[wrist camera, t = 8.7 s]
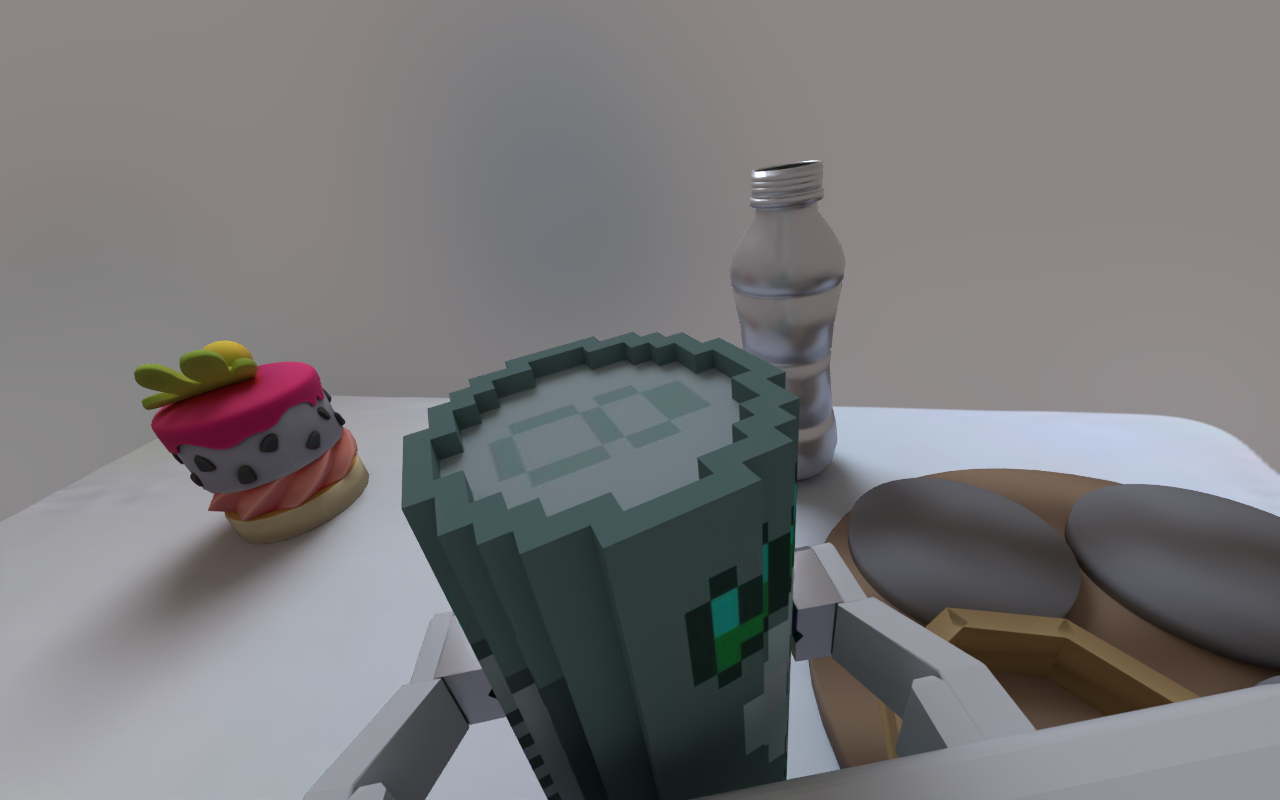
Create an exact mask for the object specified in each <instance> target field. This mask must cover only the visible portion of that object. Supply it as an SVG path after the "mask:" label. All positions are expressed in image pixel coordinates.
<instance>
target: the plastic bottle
mask: <svg viewBox="0 0 1280 800" xmlns="http://www.w3.org/2000/svg"><path fill="white" fill-rule="evenodd" d="M822 163H823V161H820V160H817V161H802V162H793V163H786V164H779V165H773V166H768V167H764V168H759V169H755V170H753V171H752V175H751V185H752V186H751V187H752V197H750V207H752V208H756V211H755V218H754V219H753V221H752V222H751V224H750V225H749V227H748V229H747V230H746V232H745V233H744V235H743V236H742V238H741V240H740V242H739V243H738V245H737V247H736V249H735V251H734V253H733V256H732V261H731V265H730V278H731V285H732V287H733V294H734V299H735V304H736V309H737V314H738V318H739V323H740V328H741V335H742V344H743V350H744V351H746V352H748V353H750V354H752V355H754V356H756V357H758V358H760V359H762V360H764V361H766V362H768V363H770V364H771V365H773V366H775V367H777V368H779V369H781V370H783V371H785V372H786V381H785V390H787V391H789V392H790V393H792V394H794V395H796V396H798V397H799V398H800V410H799V438H798V466H797V480H801V479H806V478H810V477H812V476H814V475H816V474H818V473H819V472H821V471H822V470H823V469H824V468H825V467H826V466H827V465H828V464H829V463H830V462H831V460H832V458H833V455H834V451H835V447H836V444H837V429H836V420H835V416H834V411H833V409H832V397H831V379H830V358H831V351H830V349H831V347H832V337H833V327H834V321H835V316H836V311H837V306H838V301H839V296H840V291H841V287H842V280H843V277H844V268H845V257H844V254H843V250H842V246H841V244H840V242H839V240H838V239H837V237H836V235H835V234H834V232H833V230H832V229H831V227H830V226H829V225H828V223H827V222H826V221H825V220H824V218H823V217H822V215H821V214H820V213H819V212H818V206H817V201H818V200H821V199H823V197H824V189H823V188H822V178H823V165H822Z"/></svg>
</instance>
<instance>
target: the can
mask: <svg viewBox="0 0 1280 800" xmlns="http://www.w3.org/2000/svg"><path fill="white" fill-rule="evenodd" d="M505 363H506V367H507V369H504V370H500V371H497V372H493V373H490V374H486V375H483V376H479V377H476V378H472V379H469V383H470V387H469V388H466V389H462V390H459V391H456V392H452V393H449V396H450V401H451V402H448V403H445V404H441V405H438V406H435V407H431V408H428V420H429V429H426V430H422V431H419V432H416V433H413V434H410V435H406V436H403V471H402V511H403V513H404V515H405V517H406V519H407V521H408V523H409V525H410V527H411V529H412V531H413V532H414V534H415V536H416V538H417V540H418V542H419V544H420V546H421V548H422V550H423V552H424V554H425V556H426V558H427V560H428V562H429V564H430V566H431V568H432V570H433V572H434V574H435V576H436V578H437V580H438V582H439V584H440V586H441V588H442V590H443V592H444V594H445V596H446V598H447V600H448V602H449V604H450V606H451V608H452V610H453V612H454V614H455V616H456V618H457V620H458V622H459V624H460V626H461V628H462V630H463V632H464V634H465V636H466V638H467V640H468V642H469V644H470V646H471V648H472V650H473V652H474V654H475V656H476V658H477V660H478V662H479V664H480V666H481V668H482V670H483V672H484V674H485V676H486V678H487V679H488V681H489V683H490V685H491V687H492V689H493V691H494V693H495V695H496V697H497V699H498V701H499V703H500V705H501V707H502V709H503V711H504V713H505V715H506V717H507V719H508V721H509V723H510V725H511V727H512V729H513V731H514V733H515V735H516V737H517V739H518V741H519V743H520V745H521V747H522V749H523V751H524V753H525V755H526V757H527V759H528V761H529V763H530V765H531V767H532V769H533V771H534V773H535V775H536V777H537V779H538V781H539V783H540V785H541V787H542V789H543V791H544V793H545V795H546V797H547V799H548V800H689V799H694V798H699V797H704V796H709V795H714V794H719V793H724V792H729V791H734V790H739V789H744V788H749V787H754V786H759V785H764V784H770V783H775V782H780V781H785V780H786V777H787V748H788V720H789V692H790V664H791V636H792V607H793V579H794V551H795V523H796V495H797V466H798V438H799V410H800V398H799V397H798V396H796V395H794V394H792V393H790V392H789V391H787V390H785V381H786V372H785V371H783V370H781V369H779V368H777V367H775V366H773V365H771V364H770V363H768V362H766V361H764V360H762V359H760V358H758V357H756V356H754V355H752V354H750V353H748V352H746V351H744V350H742V349H740V348H738V347H736V346H734V345H732V344H730V343H728V342H726V341H724V340H722V339H720V338H717V339H714V340H710V341H707V342H704V343H701V342H699V341H697V340H695V339H693V338H692V337H690V336H688V335H686V334H685V333H683V332H682V333H678V334H675V335H672V336H668V337H665V336H663V335H661V334H660V333H658V332H656V333H653V334H649V335H646V336H643V337H640V336H638V335H637V334H636V333H634V332H631V333H628V334H624V335H621V336H618V337H614V338H611V339H607V340H604V341H598V340H597V339H596V338H595V337H590V338H587V339H583V340H580V341H576V342H573V343H570V344H566V345H562V346H559V347H555V348H552V349H548V350H544V351H541V352H537V353H534V354H530V355H527V356H523V357H520V358H516V359H513V360H509V361H506V362H505Z"/></svg>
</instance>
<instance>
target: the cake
mask: <svg viewBox="0 0 1280 800" xmlns="http://www.w3.org/2000/svg"><path fill="white" fill-rule="evenodd" d="M180 369H181V371H182V373H183V374H184V375H183V374H181V373H179V372H177V371H175V370H173V369H171V368H168V367H165V366H162V365H158V364H144V365H141V366H139V367H138V368H137V369H136V371H135V372H134V374H135V380H136V382H137V383H138V384H139V385H141V386H142V387H145V388H148V389H151V390H156V391H160V392H162V393H158V394H155V395H152V396H149V397H147V398H145V399H143V400H142V404H143V407H144V408H145V409H147V410H150V409H156V408H159V407H163V406H164V407H163V408H162V409H161V410H160V411H159V412H158V413H156V415H155V416H154V418H153V420H152V424H151V426H152V429H153V431H154V432H155V434H156V435H157V437H158V438H159V439H160V441H161V442H162V443H163V444H164V446H165V447H166V448H167V450H168V451H169V452H170V453H172V455H173V456H174V458H175V459H176V460H177V461H178V462H179V463H181V464H185V466H186V467H187V468H188V470H189V471H190V472H191V473H192V474H191V475H190V478H191V479H192V481H193V482H194V483H195V484H197V485H198V486H201V487H203V489H205V490H207V491H209V492H211V493H215V494H214V496H213V499H212V501H211V504H210V507H209V509H208V511H223V512H225V516H226V518H227V519H228V521H229V522H230V523H231V524H232V526H233V527H234V528H235V530H236V531H237V532H238V533H239V535H240V536H241V537H242V538H243V539H245V540H247V541H248V542H250V543H264V544H267V543H272V542H277V541H282V540H287V539H289V538H292V537H295V536H297V535H300V534H303V533H305V532H308V531H310V530H312V529H314V528H316V527H318V526H320V525H322V524H323V523H325V522H327V521H329V520H331V519H332V518H334V517H335V516H337V515H338V514H339V513H341V512H342V511H344V510H345V509H346V508H348V507H349V506H350V505H351V504H352V503H353V502H354V501H355V500H356V499H357V498H358V497H359V496H360V495H361V494H362V492H363V491H364V489H365V487H366V486H367V484H368V479H369V474H368V472H367V470H366V468H365V466H364V464H363V463H362V461H361V459H360V457H359V455H358V454H357V451H358V449H357V445H356V441H355V439H354V437H353V436H352V434H351V432H350V431H349V430H347V429H346V428H344V427H343V426H342V425H344V424H345V420H344V419H343V418H342V417H341V415H340V414H339V413H337V412H334V410H333V408H332V406H331V404H330V402H331V396H330V395H329V394H328V393H327V392H326V391H325V390H324V389H323V388H322V386H321V382H320V377H319V375H318V374H317V372H316V371H315V369H314V368H313V367H312V366H310V365H308V364H305V363H300V362H278V363H271V364H265V365H260V366H257V364H256V363H255V362H254V361H253V359H252V356H251V354H250V352H249V351H248V350H247V349H246V348H245V347H244V346H242V345H240V344H238V343H236V342H231V341H219V342H214V343H211V344H209V345H207V346H205V347H204V348H203V349H202V350H195V351H191V352H189V353H187V354H184V355H183V356H182V357H181V358H180Z"/></svg>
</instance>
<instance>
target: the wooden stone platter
mask: <svg viewBox="0 0 1280 800" xmlns="http://www.w3.org/2000/svg"><path fill="white" fill-rule="evenodd" d="M825 543H831V544H832V545H834V547H835V548H836V550H837V552H838V553H839V555H840V556H841V558H842V559H843V561H844V562H845V564H846V565H847V567H848V569H849V570H850V572H851V573H852V575H853V576H854V578H855V579H856V581H857V582H858V584H859V585H860V587H861V589H862V590H863V592H864V593H865V595H866V596H867V598H871V597H875V598H876V599H878V600H880V601H881V602H883V603H885V604H886V605H888V606H889V607H891V608H893V609H894V610H896V611H898V612H899V613H901V614H903V615H904V616H906V617H908V618H909V619H911V620H913V621H914V622H916V623H917V624H919V625H921V626H922V627H924V628H926V629H927V630H929V631H931V632H932V633H934V634H936V635H937V636H939V637H941V638H942V639H944V640H946V641H947V642H949V643H950V644H952V645H954V646H955V647H957V648H959V649H960V650H962V651H964V652H965V653H967V654H969V655H970V656H972V657H974V658H975V659H977V660H978V661H980V662H982V663H983V664H985V665H986V667H987V668H988V669H989V671H990V672H991V673H992V674H993V676H994V677H995V678H996V679H997V681H998V682H999V683H1000V685H1001V686H1002V687H1003V688H1004V690H1005V691H1006V692H1007V693H1008V695H1009V696H1010V697H1011V699H1012V700H1013V701H1014V702H1015V704H1016V705H1017V706H1018V707H1019V709H1020V710H1021V711H1022V713H1023V714H1024V715H1025V716H1026V718H1027V719H1028V720H1029V721H1030V723H1031V724H1032V725H1033V727H1034V728H1035V729H1036V730H1040V729H1045V728H1050V727H1055V726H1060V725H1065V724H1070V723H1075V722H1080V721H1085V720H1090V719H1095V718H1100V717H1105V716H1110V715H1115V714H1121V713H1126V712H1131V711H1136V710H1141V709H1146V708H1151V707H1156V706H1161V705H1166V704H1171V703H1176V702H1181V701H1186V700H1191V699H1196V698H1201V697H1206V696H1211V695H1216V694H1221V693H1226V692H1231V691H1236V690H1241V689H1245V688H1250V687H1255V686H1260V685H1268V684H1279V683H1280V517H1278V516H1275V515H1273V514H1271V513H1268V512H1265V511H1262V510H1260V509H1257V508H1254V507H1251V506H1249V505H1245V504H1242V503H1239V502H1236V501H1233V500H1230V499H1226V498H1222V497H1218V496H1215V495H1211V494H1207V493H1202V492H1198V491H1193V490H1188V489H1182V488H1176V487H1169V486H1160V485H1146V484H1121V483H1116V482H1112V481H1107V480H1101V479H1095V478H1090V477H1084V476H1078V475H1073V474H1064V473H1056V472H1047V471H1039V470H1023V469H970V470H959V471H948V472H943V473H937V474H932V475H926V476H922V477H918V478H910V479H901V480H896V481H891V482H888V483H884V484H882V485H879V486H877V487H874V488H873V489H871V490H869V491H868V492H866V493H865V494H864V495H863V496H861V497H860V499H859V500H858V501H857V502H856V503H855V505H854V507H853V509H852V510H851V511H850V512H849V513H847V514H846V515H845V516H844V517H843V518H842V520H841V521H840V522H839V523H838V524H837V525H836V526H835V528H834V529H833V530H832V531H831V533H830V534H829V536H828V538H827V539H826V541H825ZM808 661H809V668H810V675H811V682H812V687H813V691H814V694H815V698H816V702H817V705H818V709H819V713H820V716H821V720H822V724H823V726H824V729H825V731H826V734H827V736H828V739H829V741H830V744H831V746H832V749H833V751H834V754H835V756H836V759H837V761H838V764H839V766H840V768H841V769H845V768H850V767H855V766H860V765H865V764H870V763H875V762H880V761H885V760H890V759H895V758H899V757H898V755H897V753H896V751H895V748H896V744H897V740H898V736H899V732H900V729H901V725H902V721H903V720H902V719H901V718H900V717H899V716H898V715H897V714H896V713H894V712H893V711H892V710H891V709H890V708H889V707H888V706H886V705H885V704H884V703H883V702H882V701H881V700H880V699H878V698H877V697H876V696H875V695H874V694H873V693H872V692H870V691H869V690H868V689H867V688H866V687H865V686H864V685H862V684H861V683H860V682H859V681H858V680H857V679H856V678H854V677H853V676H852V675H851V674H850V673H849V672H848V671H846V670H845V669H844V668H843V667H842V666H841V665H840V664H838V663H837V662H836V661H835V660H834V659H833V658H832V656H827V657H821V658H814V659H808Z"/></svg>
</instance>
